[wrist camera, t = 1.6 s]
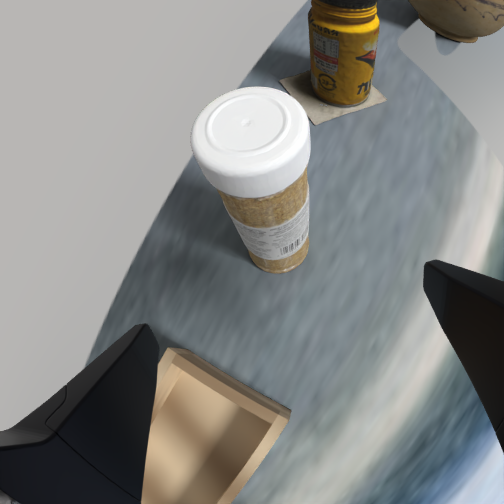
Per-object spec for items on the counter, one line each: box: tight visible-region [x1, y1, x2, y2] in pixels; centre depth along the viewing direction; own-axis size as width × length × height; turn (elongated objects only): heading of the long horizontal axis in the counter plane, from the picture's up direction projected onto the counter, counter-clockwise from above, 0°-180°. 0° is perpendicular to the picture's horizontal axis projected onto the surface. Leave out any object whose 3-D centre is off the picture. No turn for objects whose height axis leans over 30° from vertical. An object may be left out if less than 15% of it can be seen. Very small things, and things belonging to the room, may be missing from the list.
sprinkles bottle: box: [191, 87, 310, 273], centre depth 17 cm, size 5×5×14 cm
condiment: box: [279, 0, 387, 125], centre depth 22 cm, size 7×8×12 cm
